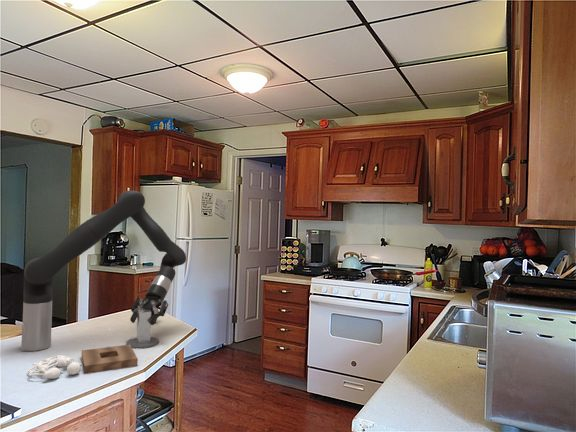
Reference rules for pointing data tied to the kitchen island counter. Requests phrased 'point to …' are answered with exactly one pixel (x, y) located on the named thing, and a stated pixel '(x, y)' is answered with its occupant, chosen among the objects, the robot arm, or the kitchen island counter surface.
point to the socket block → (108, 358)
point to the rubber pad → (135, 344)
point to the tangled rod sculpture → (55, 372)
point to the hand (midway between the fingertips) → (141, 323)
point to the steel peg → (143, 326)
